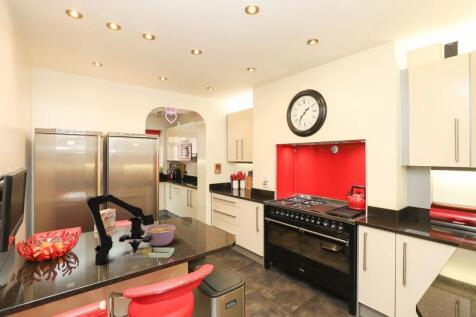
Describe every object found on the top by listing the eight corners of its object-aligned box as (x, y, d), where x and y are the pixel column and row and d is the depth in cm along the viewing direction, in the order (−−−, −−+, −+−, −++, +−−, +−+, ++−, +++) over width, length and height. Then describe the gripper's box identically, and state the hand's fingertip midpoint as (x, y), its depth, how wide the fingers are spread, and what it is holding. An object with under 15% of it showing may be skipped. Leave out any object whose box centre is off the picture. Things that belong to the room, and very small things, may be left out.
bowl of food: (180, 241, 168) (180, 225, 168) (165, 252, 149) (165, 234, 149) (157, 238, 173) (157, 223, 173) (138, 248, 154) (139, 231, 154)
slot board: (147, 259, 137) (147, 255, 137) (124, 259, 137) (124, 255, 137) (154, 252, 148) (154, 248, 148) (132, 251, 148) (133, 248, 148)
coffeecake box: (102, 239, 171) (102, 212, 172) (93, 238, 173) (94, 212, 173) (115, 232, 186) (116, 208, 186) (107, 232, 187) (108, 208, 187)
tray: (169, 259, 138) (169, 253, 138) (148, 258, 138) (148, 253, 138) (174, 253, 147) (174, 247, 147) (153, 252, 147) (153, 247, 147)
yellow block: (149, 255, 140) (149, 250, 140) (142, 255, 140) (142, 250, 140) (151, 252, 144) (151, 248, 144) (145, 252, 144) (145, 248, 144)
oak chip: (142, 255, 140) (142, 250, 140) (136, 255, 140) (136, 250, 140) (145, 252, 144) (145, 248, 144) (138, 252, 144) (139, 248, 144)
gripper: (155, 223, 151) (155, 247, 151) (127, 223, 151) (127, 247, 151) (149, 229, 139) (148, 254, 139) (118, 228, 140) (118, 254, 140)
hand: (135, 252), depth 143 cm, fingers closed
